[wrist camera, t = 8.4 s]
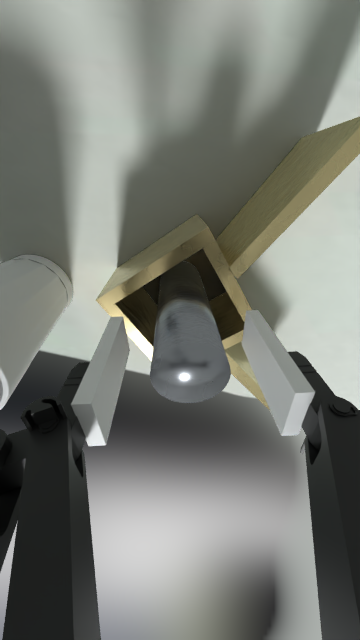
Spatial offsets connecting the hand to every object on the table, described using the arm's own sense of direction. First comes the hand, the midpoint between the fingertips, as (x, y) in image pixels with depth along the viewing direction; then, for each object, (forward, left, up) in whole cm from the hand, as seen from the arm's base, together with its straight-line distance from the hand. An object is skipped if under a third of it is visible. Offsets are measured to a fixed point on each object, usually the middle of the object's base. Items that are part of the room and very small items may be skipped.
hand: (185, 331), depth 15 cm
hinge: (+5, +5, -9) cm, 11 cm away
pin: (0, 0, -9) cm, 9 cm away
